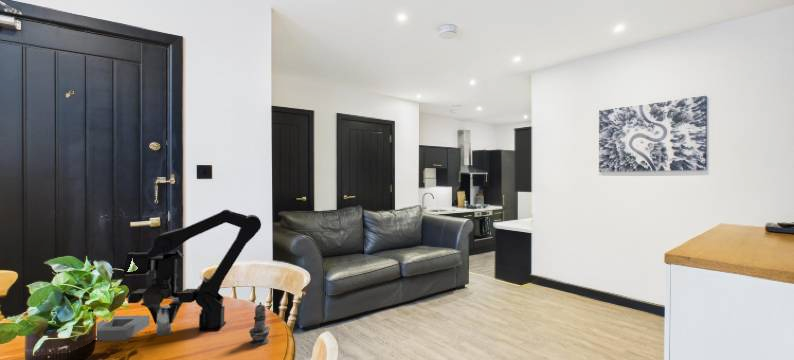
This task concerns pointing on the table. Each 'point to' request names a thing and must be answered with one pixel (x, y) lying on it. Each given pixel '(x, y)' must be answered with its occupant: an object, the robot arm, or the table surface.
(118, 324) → the socket block
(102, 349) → the table surface
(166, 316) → the grey metallic cylinder
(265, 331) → the grey tower figurine
